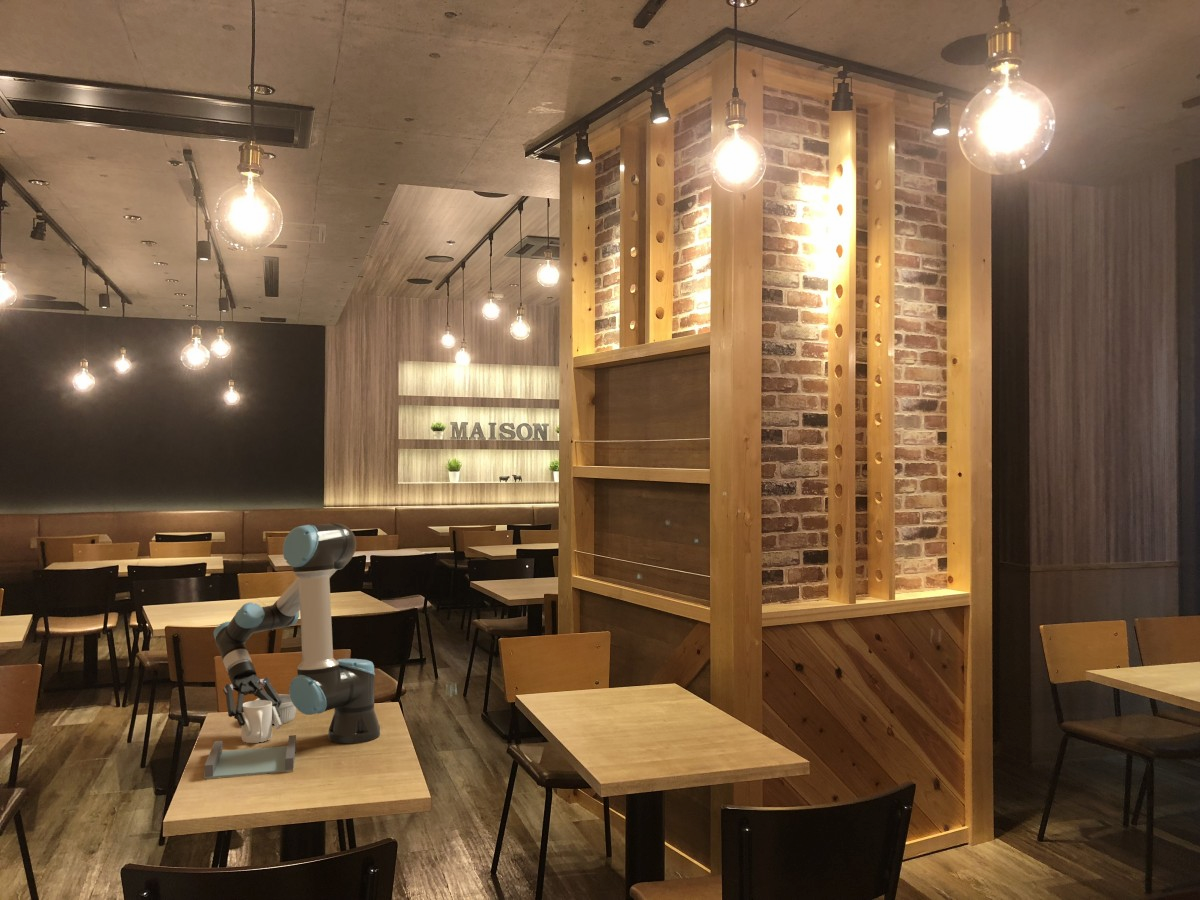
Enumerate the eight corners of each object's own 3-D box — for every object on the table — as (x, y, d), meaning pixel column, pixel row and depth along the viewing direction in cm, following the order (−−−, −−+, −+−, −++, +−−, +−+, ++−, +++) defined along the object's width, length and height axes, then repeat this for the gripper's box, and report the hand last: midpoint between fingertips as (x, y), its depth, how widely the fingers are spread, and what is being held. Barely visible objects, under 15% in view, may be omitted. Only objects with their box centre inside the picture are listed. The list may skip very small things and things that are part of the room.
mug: (244, 748, 269) (244, 711, 269) (239, 737, 279) (239, 702, 279) (275, 744, 273) (275, 707, 273) (269, 733, 283) (269, 698, 283)
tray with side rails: (214, 754, 264) (214, 741, 264) (296, 747, 270) (296, 735, 270) (204, 779, 242) (204, 765, 242) (293, 771, 249) (293, 758, 249)
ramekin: (253, 728, 289) (254, 706, 290) (253, 717, 302) (253, 696, 302) (298, 724, 294) (298, 702, 294) (296, 713, 306) (296, 692, 307)
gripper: (268, 669, 295) (293, 729, 284) (201, 680, 279) (224, 745, 268) (276, 655, 291) (302, 715, 280) (209, 665, 276) (233, 730, 265)
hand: (264, 730), depth 274 cm, fingers closed on mug, 9 cm apart
